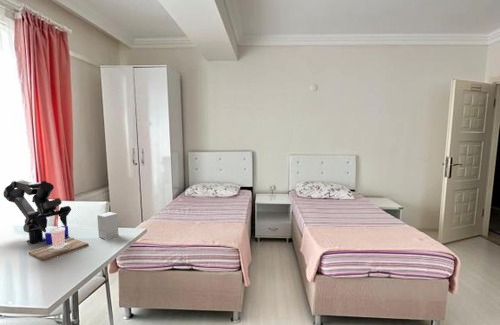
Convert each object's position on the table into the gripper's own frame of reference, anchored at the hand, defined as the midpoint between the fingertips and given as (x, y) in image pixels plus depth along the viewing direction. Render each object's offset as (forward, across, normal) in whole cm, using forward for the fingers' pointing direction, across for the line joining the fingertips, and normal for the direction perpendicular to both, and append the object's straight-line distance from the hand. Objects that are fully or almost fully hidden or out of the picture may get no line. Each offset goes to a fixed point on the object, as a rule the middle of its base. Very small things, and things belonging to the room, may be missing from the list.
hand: (56, 229), depth 139 cm
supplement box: (+12, +23, +3) cm, 26 cm away
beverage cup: (+8, 0, +5) cm, 9 cm away
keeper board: (+9, 0, +6) cm, 10 cm away
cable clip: (-2, +6, +17) cm, 18 cm away
